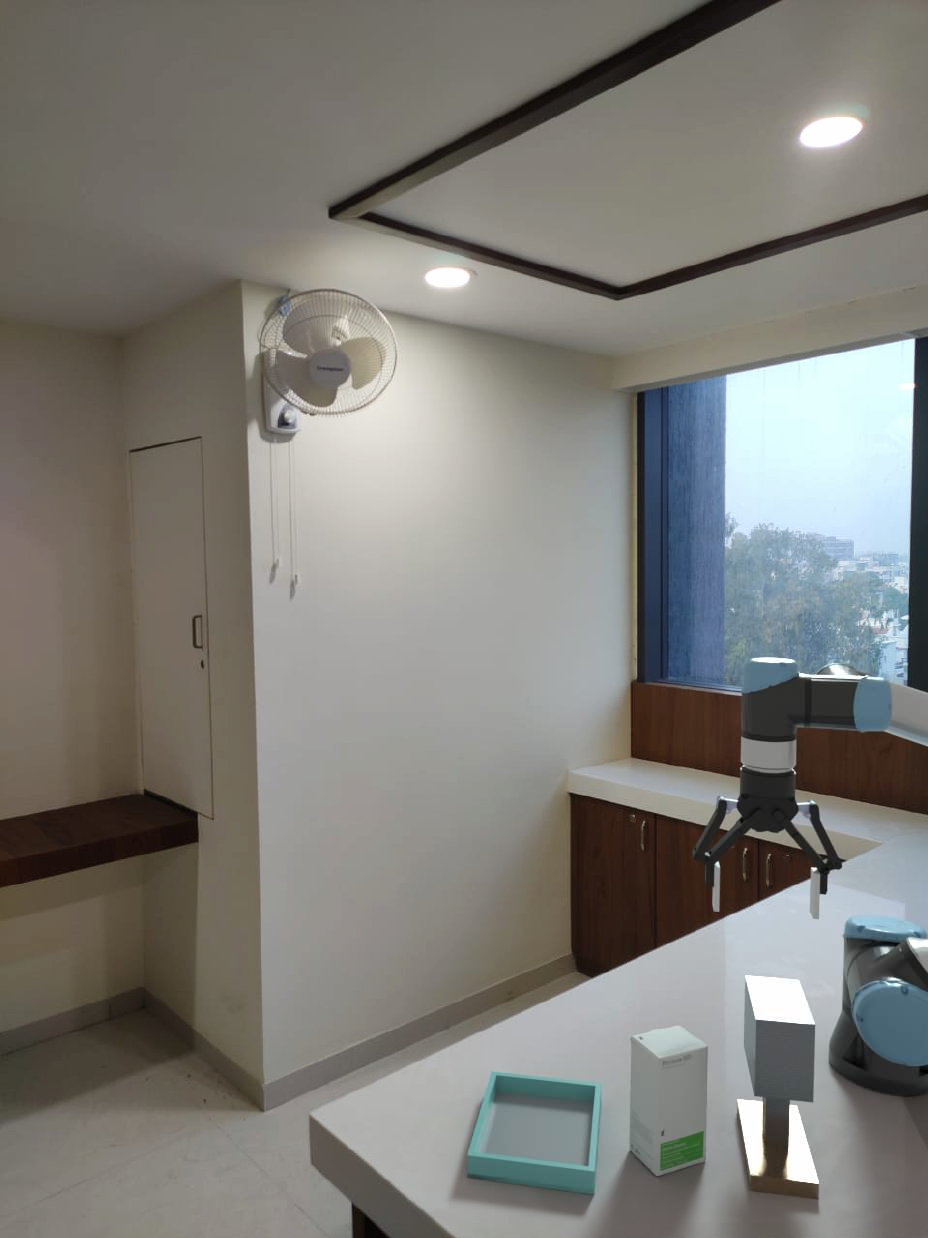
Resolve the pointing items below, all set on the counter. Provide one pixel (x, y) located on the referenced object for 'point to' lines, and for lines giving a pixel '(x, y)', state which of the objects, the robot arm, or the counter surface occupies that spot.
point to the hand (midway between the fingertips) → (764, 912)
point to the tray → (537, 1133)
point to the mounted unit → (778, 1087)
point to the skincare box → (668, 1099)
